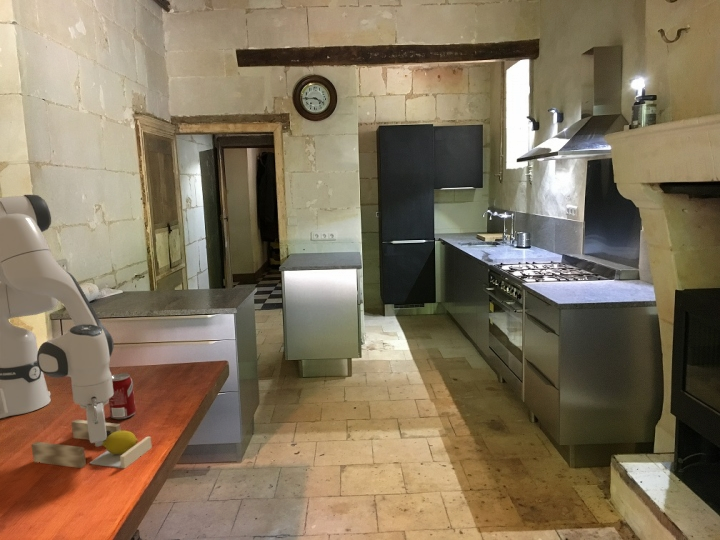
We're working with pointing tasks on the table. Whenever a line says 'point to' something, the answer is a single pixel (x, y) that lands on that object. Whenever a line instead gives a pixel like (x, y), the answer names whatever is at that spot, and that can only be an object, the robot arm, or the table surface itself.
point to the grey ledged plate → (124, 455)
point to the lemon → (120, 442)
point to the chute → (68, 447)
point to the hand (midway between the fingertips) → (99, 443)
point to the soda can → (122, 397)
